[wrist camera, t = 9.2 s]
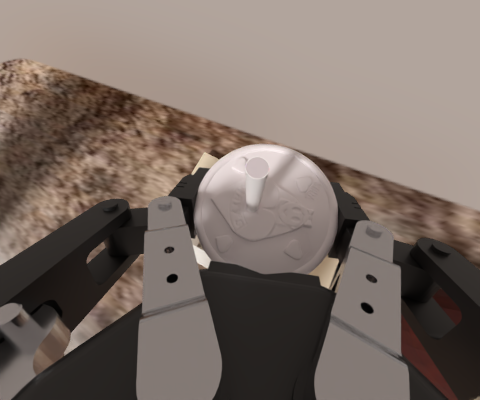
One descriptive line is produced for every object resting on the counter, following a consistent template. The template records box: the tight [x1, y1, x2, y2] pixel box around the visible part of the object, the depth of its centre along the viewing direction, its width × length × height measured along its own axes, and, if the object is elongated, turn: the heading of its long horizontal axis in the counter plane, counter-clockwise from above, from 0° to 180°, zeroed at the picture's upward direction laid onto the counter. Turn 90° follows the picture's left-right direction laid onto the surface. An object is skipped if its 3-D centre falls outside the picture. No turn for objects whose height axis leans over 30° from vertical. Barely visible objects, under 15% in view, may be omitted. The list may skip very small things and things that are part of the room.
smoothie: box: [194, 144, 338, 274], centre depth 11 cm, size 6×6×14 cm
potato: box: [401, 289, 462, 400], centre depth 17 cm, size 9×12×9 cm
